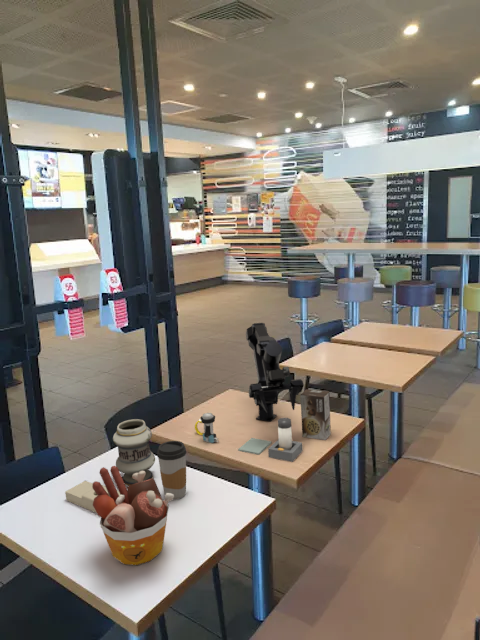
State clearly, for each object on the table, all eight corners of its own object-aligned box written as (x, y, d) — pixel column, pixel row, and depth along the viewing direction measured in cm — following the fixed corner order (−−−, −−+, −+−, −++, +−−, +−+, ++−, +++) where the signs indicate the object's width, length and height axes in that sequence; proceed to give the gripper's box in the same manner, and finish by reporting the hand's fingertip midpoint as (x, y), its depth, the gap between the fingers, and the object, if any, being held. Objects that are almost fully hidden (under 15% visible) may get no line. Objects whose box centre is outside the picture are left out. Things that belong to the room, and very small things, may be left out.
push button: (222, 440, 181) (221, 414, 180) (213, 446, 177) (211, 419, 175) (208, 436, 185) (206, 410, 183) (199, 442, 181) (197, 415, 179)
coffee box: (331, 433, 182) (330, 391, 179) (325, 440, 176) (324, 396, 173) (307, 430, 186) (306, 388, 183) (301, 436, 181) (299, 394, 178)
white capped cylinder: (282, 450, 171) (281, 416, 169) (294, 452, 169) (293, 418, 166) (277, 455, 167) (275, 421, 165) (289, 458, 165) (287, 423, 163)
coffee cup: (178, 484, 152) (174, 437, 150) (195, 493, 146) (191, 445, 144) (155, 495, 147) (150, 447, 144) (172, 505, 141) (168, 455, 138)
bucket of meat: (190, 543, 123) (184, 468, 119) (144, 585, 110) (135, 502, 106) (131, 521, 134) (124, 452, 130) (82, 557, 120) (72, 481, 117)
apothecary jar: (110, 479, 157) (103, 425, 154) (142, 465, 166) (137, 413, 162) (131, 492, 149) (125, 435, 146) (164, 476, 157) (159, 422, 154)
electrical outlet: (84, 477, 152) (126, 493, 142) (86, 490, 153) (127, 506, 142) (64, 488, 146) (106, 505, 136) (66, 501, 147) (107, 519, 137)
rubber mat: (251, 439, 181) (251, 437, 181) (271, 442, 177) (271, 441, 177) (238, 450, 172) (238, 449, 172) (259, 454, 168) (258, 453, 168)
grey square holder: (279, 446, 174) (279, 437, 173) (302, 450, 169) (302, 441, 169) (268, 457, 166) (268, 447, 166) (292, 461, 162) (292, 452, 162)
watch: (211, 434, 188) (211, 419, 186) (208, 437, 185) (208, 422, 184) (197, 431, 190) (197, 416, 189) (193, 434, 188) (193, 419, 186)
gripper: (248, 361, 171) (255, 403, 163) (301, 356, 174) (311, 397, 165) (245, 377, 180) (252, 417, 172) (296, 372, 183) (305, 411, 174)
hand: (280, 410), depth 171 cm, fingers open, 9 cm apart
